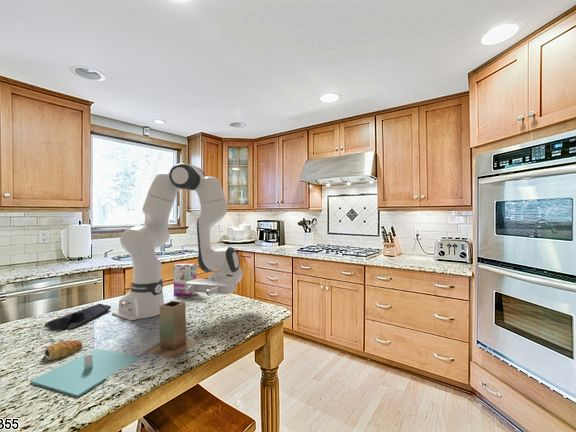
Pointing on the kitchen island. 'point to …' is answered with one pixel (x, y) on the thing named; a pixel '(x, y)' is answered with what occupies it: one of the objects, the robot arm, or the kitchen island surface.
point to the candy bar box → (183, 277)
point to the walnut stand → (172, 354)
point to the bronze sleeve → (172, 325)
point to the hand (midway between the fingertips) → (197, 292)
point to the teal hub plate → (84, 372)
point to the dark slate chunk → (78, 317)
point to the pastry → (62, 349)
